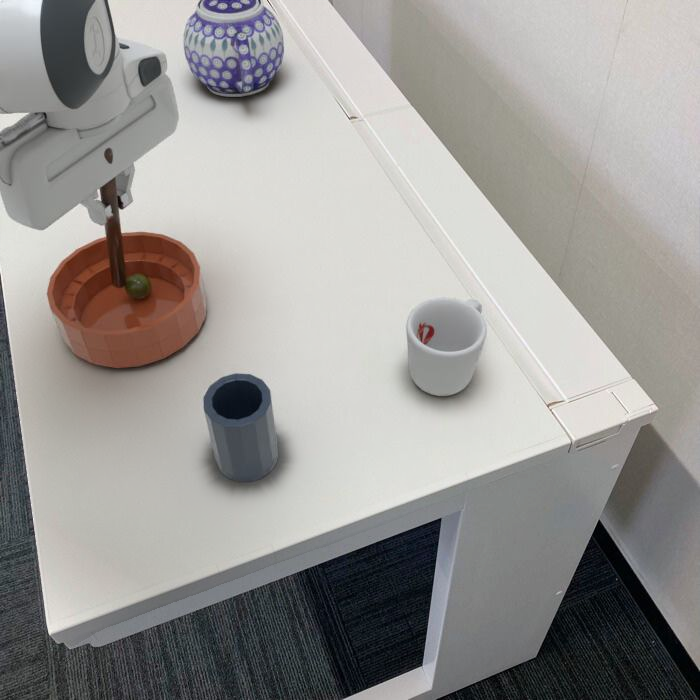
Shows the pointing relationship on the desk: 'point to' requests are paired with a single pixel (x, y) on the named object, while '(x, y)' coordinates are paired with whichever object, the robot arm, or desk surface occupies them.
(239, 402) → the crock
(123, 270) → the stick
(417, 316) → the cup
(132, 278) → the bead
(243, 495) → the desk surface
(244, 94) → the teapot
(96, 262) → the bowl
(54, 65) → the robot arm
